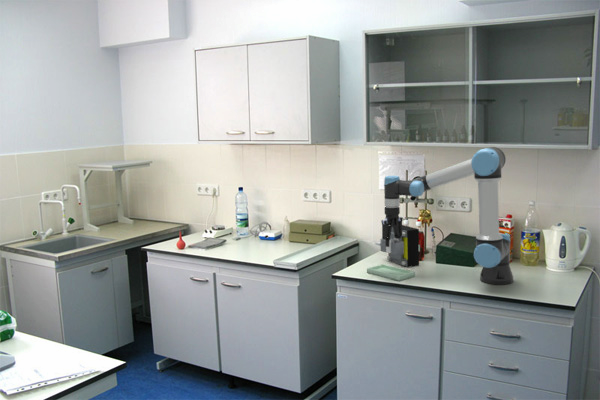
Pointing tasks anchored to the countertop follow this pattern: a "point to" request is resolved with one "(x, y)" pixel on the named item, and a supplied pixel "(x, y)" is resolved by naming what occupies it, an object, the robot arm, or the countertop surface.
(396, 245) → the connector
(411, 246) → the electrical component
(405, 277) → the tray
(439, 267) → the countertop surface
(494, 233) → the robot arm
